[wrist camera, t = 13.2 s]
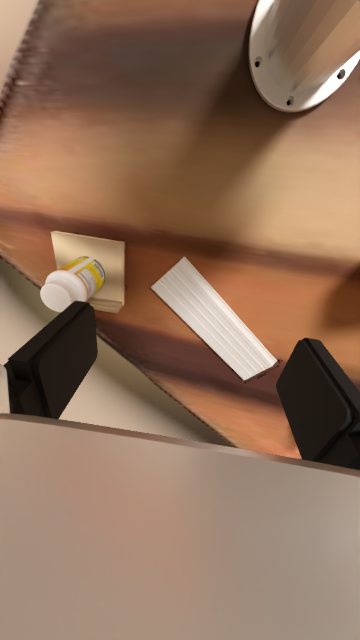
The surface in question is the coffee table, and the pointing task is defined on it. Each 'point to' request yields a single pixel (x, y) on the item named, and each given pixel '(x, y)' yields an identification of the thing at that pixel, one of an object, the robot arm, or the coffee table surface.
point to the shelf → (106, 254)
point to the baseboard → (213, 319)
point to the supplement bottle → (73, 283)
